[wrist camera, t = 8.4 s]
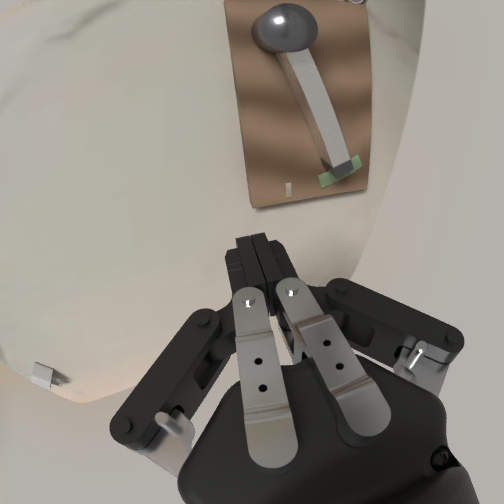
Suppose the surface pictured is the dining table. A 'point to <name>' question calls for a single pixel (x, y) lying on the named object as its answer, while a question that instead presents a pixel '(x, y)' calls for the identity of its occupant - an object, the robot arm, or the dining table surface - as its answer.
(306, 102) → the lever
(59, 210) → the dining table surface
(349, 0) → the smartphone
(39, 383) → the usb wall charger
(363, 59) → the plate
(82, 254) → the dining table surface
